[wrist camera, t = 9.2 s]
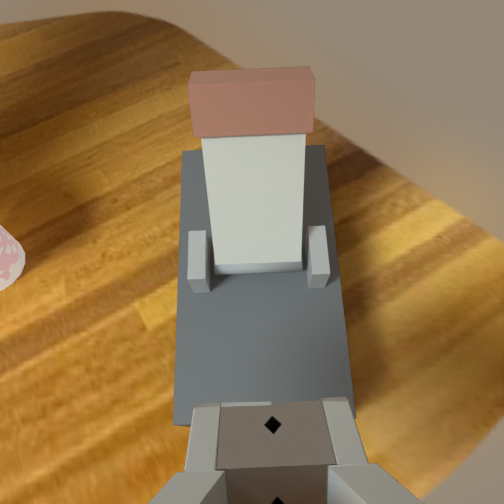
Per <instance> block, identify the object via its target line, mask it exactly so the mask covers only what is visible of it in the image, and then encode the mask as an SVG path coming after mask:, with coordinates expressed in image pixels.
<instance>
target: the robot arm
mask: <svg viewBox="0 0 504 504" xmlns="http://www.w3.org/2000/svg"><path fill="white" fill-rule="evenodd" d="M148 504H424V503H423V502H422V501H420V500H419V499H418V498H417V497H416V496H415V495H413V494H412V493H411V492H410V491H409V490H408V489H406V488H405V487H404V486H403V485H402V484H401V483H399V482H398V481H397V480H396V479H395V478H393V477H392V476H391V475H390V474H389V473H388V472H386V471H385V470H384V469H383V468H382V467H381V466H379V465H378V464H377V463H376V464H369V462H368V459H367V456H366V453H365V450H364V447H363V444H362V441H361V438H360V435H359V432H358V429H357V425H356V422H355V419H354V416H353V413H352V410H351V407H350V404H349V401H348V399H347V398H346V397H334V398H320V399H308V400H289V401H271V402H227V403H204V404H196V405H195V407H194V409H193V415H192V422H191V429H190V435H189V442H188V449H187V456H186V462H185V469H184V472H180V473H175V474H174V475H173V477H172V478H171V479H170V480H169V481H168V482H167V483H166V484H165V485H164V487H163V488H162V489H161V490H160V491H159V492H158V493H157V494H156V495H155V497H154V498H153V499H152V500H151V501H150V502H149V503H148Z"/></svg>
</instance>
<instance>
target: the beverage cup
mask: <svg viewBox="0 0 504 504" xmlns="http://www.w3.org/2000/svg"><path fill="white" fill-rule="evenodd" d="M24 265H25V252H24V250H23V248H22V246H21V245H20V243H19V242H18V241H17V240H15V239H14V238H13V237H12V236H11V235H10V234H9V233H8V232H7V231H6V230H5V229H4V228H3V227H2V226H1V225H0V291H1V290H3V289H5V288H6V287H8V286H10V285H11V284H13V283H14V281H15V280H16V279H17V278H18V277H19V276H20V275H21V272H22V270H23V267H24Z"/></svg>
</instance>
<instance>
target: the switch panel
mask: <svg viewBox="0 0 504 504" xmlns="http://www.w3.org/2000/svg"><path fill="white" fill-rule="evenodd" d="M301 251H302V271H299V272H274V273H248V274H223V275H215V271H214V249H213V240H212V231H211V222H210V214H209V205H208V196H207V187H206V178H205V169H204V160H203V151H202V150H193V151H183V153H182V182H181V211H180V240H179V268H178V297H177V326H176V355H175V384H174V413H173V425H178V426H186V427H191V422H192V415H193V409H194V407H195V405H196V404H204V403H227V402H271V401H289V400H308V399H320V398H334V397H346V398H347V399H348V401H349V404H350V407H351V410H352V413H353V416H354V419H355V418H356V411H355V403H354V394H353V386H352V377H351V369H350V360H349V352H348V343H347V334H346V326H345V317H344V309H343V300H342V292H341V283H340V274H339V266H338V257H337V249H336V240H335V232H334V223H333V215H332V206H331V197H330V189H329V180H328V172H327V163H326V155H325V146H324V145H312V146H305V166H304V194H303V221H302V249H301Z"/></svg>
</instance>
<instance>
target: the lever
mask: <svg viewBox="0 0 504 504" xmlns="http://www.w3.org/2000/svg"><path fill="white" fill-rule="evenodd" d="M187 86H188V95H189V103H190V111H191V119H192V127H193V135H194V137H201V142H202V151H203V160H204V169H205V178H206V187H207V196H208V205H209V214H210V222H211V231H212V240H213V249H214V271H215V275H223V274H248V273H274V272H299V271H302V251H301V249H302V221H303V194H304V166H305V139H306V133H308V132H313V120H314V99H315V78H314V75H313V73H312V71H311V69H310V67H309V66H306V67H282V68H260V69H236V70H214V71H192V73H191V76H190V79H189V82H188V84H187Z"/></svg>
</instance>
